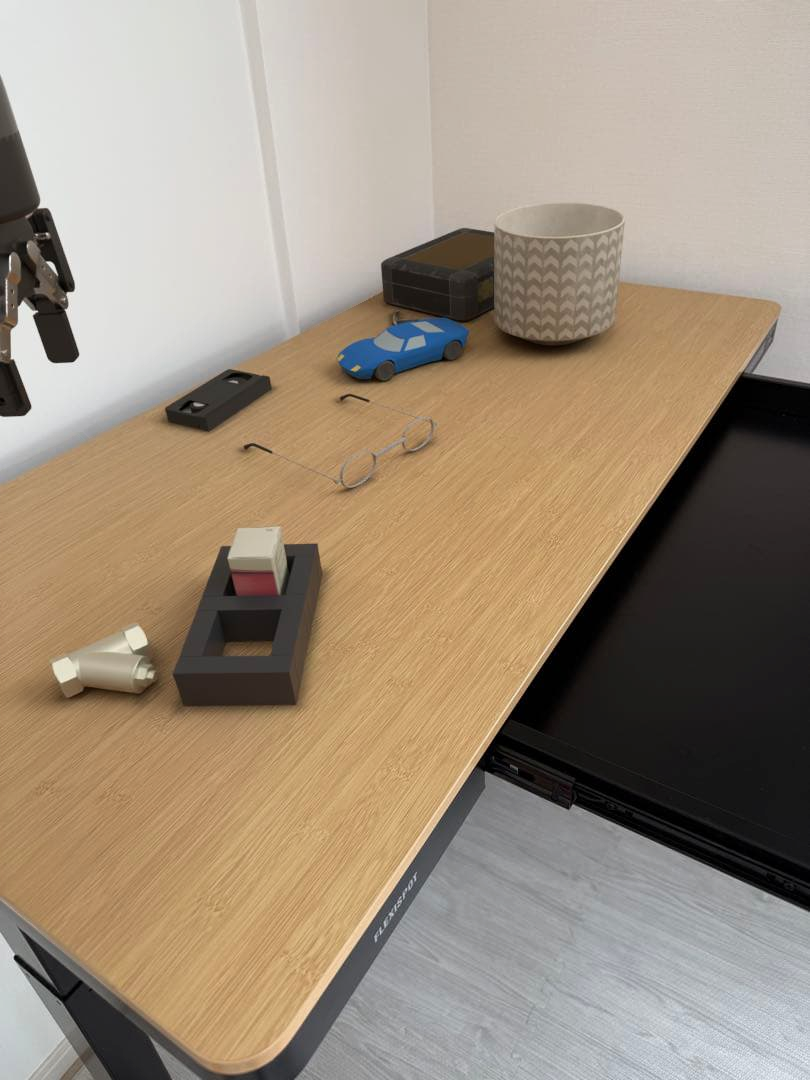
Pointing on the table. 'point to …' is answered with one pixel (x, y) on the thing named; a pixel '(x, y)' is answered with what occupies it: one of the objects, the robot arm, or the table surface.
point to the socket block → (250, 637)
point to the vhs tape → (218, 399)
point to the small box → (258, 562)
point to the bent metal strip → (401, 320)
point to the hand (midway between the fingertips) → (41, 386)
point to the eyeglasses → (364, 451)
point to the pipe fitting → (108, 664)
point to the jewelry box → (444, 275)
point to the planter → (557, 271)
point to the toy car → (403, 348)
